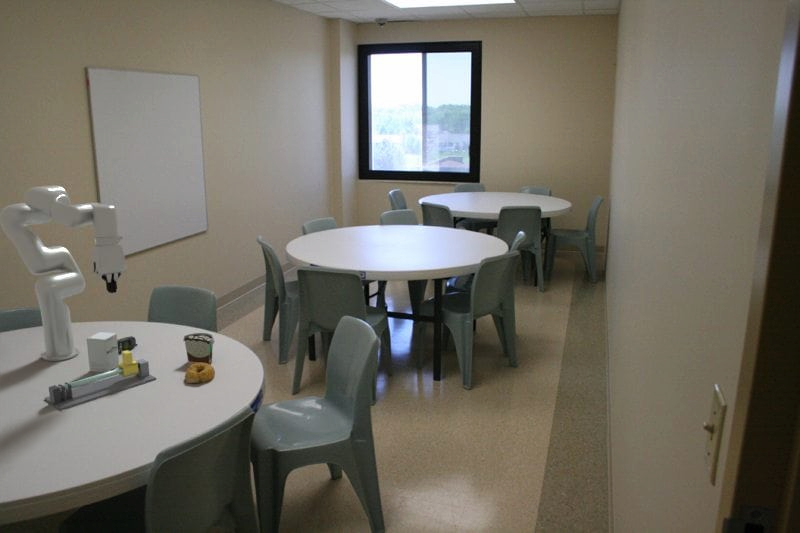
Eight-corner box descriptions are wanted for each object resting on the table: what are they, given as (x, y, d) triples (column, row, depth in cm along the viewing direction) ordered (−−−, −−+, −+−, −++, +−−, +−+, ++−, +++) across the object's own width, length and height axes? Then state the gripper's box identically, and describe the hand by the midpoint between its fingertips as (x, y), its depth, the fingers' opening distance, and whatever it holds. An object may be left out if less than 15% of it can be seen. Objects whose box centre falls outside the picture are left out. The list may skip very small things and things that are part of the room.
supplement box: (107, 373, 227) (104, 339, 224) (89, 371, 229) (85, 338, 226) (120, 365, 234) (117, 332, 231) (102, 363, 236) (99, 331, 233)
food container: (222, 359, 241) (221, 334, 239) (212, 365, 235) (211, 339, 233) (194, 355, 245) (193, 330, 242) (184, 361, 239) (183, 335, 237)
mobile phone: (104, 346, 240) (139, 334, 253) (99, 344, 242) (134, 333, 254) (105, 358, 242) (140, 346, 254) (101, 357, 243) (135, 344, 255)
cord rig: (44, 399, 206) (42, 383, 205) (138, 370, 230) (137, 355, 229) (61, 410, 198) (58, 393, 197) (156, 379, 222) (154, 364, 221)
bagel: (177, 381, 221) (176, 369, 220) (199, 371, 231) (198, 358, 230) (200, 387, 217) (199, 374, 216) (221, 376, 227) (220, 363, 226)
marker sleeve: (118, 374, 220) (116, 352, 218) (132, 370, 224) (130, 348, 222) (124, 377, 218) (122, 355, 216) (138, 373, 221) (136, 351, 219)
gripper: (122, 236, 228) (127, 286, 232) (80, 242, 216) (85, 294, 221) (133, 239, 223) (137, 289, 227) (90, 245, 212) (96, 298, 216)
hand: (112, 292), depth 224 cm, fingers closed
